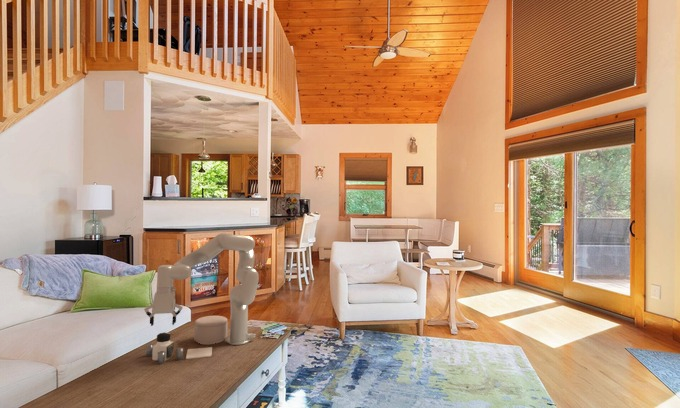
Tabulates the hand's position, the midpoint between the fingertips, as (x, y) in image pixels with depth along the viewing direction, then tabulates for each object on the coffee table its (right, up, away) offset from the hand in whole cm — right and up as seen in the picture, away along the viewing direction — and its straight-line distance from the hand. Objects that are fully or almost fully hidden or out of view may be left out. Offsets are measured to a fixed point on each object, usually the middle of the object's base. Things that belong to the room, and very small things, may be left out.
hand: (162, 324), depth 181 cm
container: (+14, -18, +27) cm, 35 cm away
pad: (+16, -17, +6) cm, 24 cm away
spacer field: (0, -17, 0) cm, 16 cm away
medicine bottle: (0, -17, 0) cm, 17 cm away
